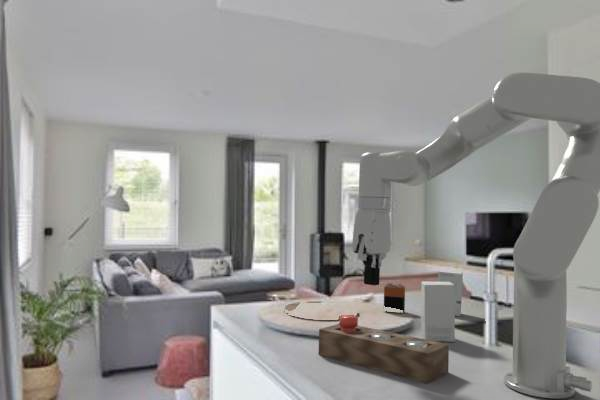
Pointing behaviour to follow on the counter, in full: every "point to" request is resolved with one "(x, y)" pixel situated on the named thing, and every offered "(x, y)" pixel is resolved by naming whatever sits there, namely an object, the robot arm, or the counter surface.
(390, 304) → the battery
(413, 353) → the block
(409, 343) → the plug
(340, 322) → the red plug
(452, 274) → the skincare box
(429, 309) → the skincare box
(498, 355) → the counter surface
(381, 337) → the plug
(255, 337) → the counter surface
